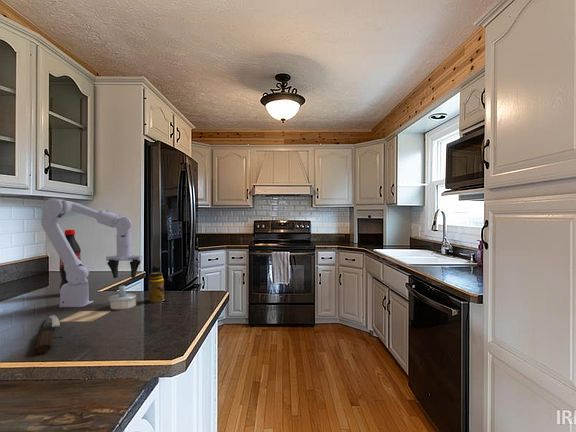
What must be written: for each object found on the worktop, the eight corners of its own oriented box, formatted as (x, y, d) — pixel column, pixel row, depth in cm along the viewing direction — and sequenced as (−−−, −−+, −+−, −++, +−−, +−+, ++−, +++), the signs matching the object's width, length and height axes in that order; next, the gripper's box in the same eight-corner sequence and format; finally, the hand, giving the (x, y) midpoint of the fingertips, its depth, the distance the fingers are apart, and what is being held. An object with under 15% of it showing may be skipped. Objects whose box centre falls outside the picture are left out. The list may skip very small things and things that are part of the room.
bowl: (105, 310, 128) (105, 301, 128) (118, 303, 137) (118, 295, 137) (129, 310, 128) (128, 300, 128) (139, 303, 137) (139, 295, 137)
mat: (57, 322, 113) (57, 321, 113) (79, 312, 125) (79, 311, 125) (92, 322, 113) (92, 321, 113) (111, 312, 125) (111, 311, 125)
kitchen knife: (57, 341, 90) (34, 347, 87) (58, 348, 90) (35, 355, 87) (60, 309, 119) (43, 313, 117) (61, 315, 120) (44, 319, 117)
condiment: (166, 301, 139) (166, 273, 139) (145, 305, 135) (144, 275, 135) (162, 298, 146) (162, 270, 145) (141, 301, 141) (141, 273, 141)
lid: (102, 301, 127) (102, 289, 127) (117, 295, 137) (117, 283, 137) (127, 302, 126) (127, 289, 126) (141, 295, 136) (141, 283, 136)
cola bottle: (55, 295, 152) (54, 229, 152) (73, 291, 160) (72, 229, 160) (67, 296, 149) (66, 230, 149) (85, 292, 157) (84, 229, 157)
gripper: (101, 246, 137) (102, 279, 137) (136, 246, 137) (137, 279, 137) (111, 245, 144) (111, 276, 144) (144, 244, 144) (144, 276, 144)
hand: (124, 277), depth 141 cm, fingers open, 7 cm apart
